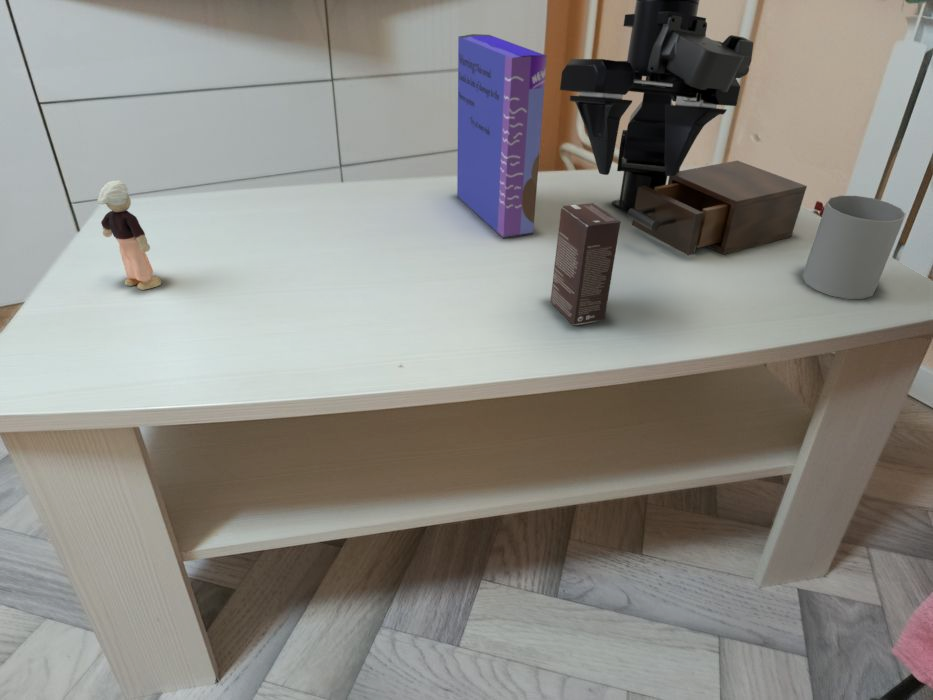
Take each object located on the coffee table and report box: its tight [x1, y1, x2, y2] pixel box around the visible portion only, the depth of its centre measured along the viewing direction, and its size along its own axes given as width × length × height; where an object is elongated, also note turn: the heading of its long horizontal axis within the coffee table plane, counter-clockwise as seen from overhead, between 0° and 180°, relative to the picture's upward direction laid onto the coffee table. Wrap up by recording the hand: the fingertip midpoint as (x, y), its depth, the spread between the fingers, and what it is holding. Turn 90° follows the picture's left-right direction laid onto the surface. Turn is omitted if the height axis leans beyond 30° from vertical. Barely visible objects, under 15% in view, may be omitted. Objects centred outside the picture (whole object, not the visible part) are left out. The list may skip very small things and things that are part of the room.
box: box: [549, 202, 621, 326], centre depth 74 cm, size 6×4×12 cm
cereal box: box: [456, 33, 547, 239], centre depth 95 cm, size 17×5×24 cm, turn 23°
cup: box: [801, 195, 906, 300], centre depth 81 cm, size 8×8×10 cm
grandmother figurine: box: [97, 179, 162, 291], centre depth 78 cm, size 8×4×13 cm, turn 71°
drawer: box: [626, 182, 731, 256], centre depth 92 cm, size 17×11×6 cm
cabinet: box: [667, 160, 808, 255], centre depth 96 cm, size 14×13×8 cm
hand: (638, 175), depth 68 cm, fingers open, 9 cm apart
